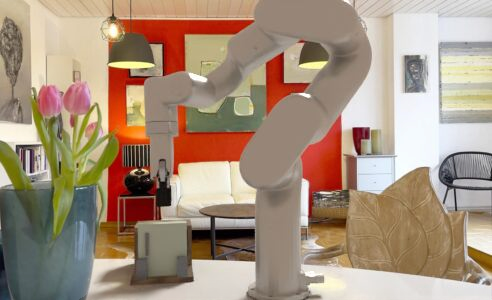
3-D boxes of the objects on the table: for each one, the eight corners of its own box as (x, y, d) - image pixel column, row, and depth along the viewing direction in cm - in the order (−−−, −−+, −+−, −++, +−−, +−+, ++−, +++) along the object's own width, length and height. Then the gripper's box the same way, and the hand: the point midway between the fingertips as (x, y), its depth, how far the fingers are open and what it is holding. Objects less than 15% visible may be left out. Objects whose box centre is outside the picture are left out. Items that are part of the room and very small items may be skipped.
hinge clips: (187, 269, 101) (186, 250, 101) (187, 276, 94) (187, 257, 95) (138, 272, 99) (138, 253, 99) (136, 280, 93) (136, 259, 93)
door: (186, 271, 99) (186, 221, 99) (187, 275, 96) (186, 223, 96) (139, 274, 97) (138, 222, 97) (138, 278, 94) (137, 225, 94)
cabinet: (190, 259, 114) (190, 219, 114) (193, 281, 95) (193, 232, 95) (138, 262, 112) (137, 221, 112) (130, 284, 92) (129, 235, 92)
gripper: (147, 133, 105) (150, 201, 104) (142, 128, 88) (145, 209, 87) (177, 132, 106) (180, 199, 106) (178, 127, 89) (181, 207, 89)
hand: (164, 204), depth 97 cm, fingers open, 9 cm apart
